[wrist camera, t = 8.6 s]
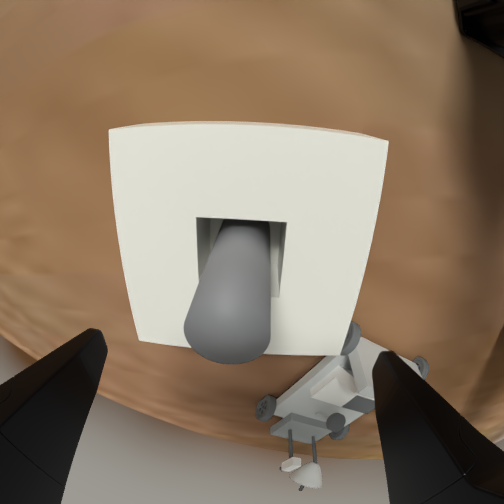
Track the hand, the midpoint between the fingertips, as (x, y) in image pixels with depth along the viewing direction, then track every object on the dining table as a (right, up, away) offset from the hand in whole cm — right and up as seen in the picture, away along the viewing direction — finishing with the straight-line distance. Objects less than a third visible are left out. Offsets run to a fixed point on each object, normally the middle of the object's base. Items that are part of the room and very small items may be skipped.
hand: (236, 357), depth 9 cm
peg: (0, +5, +11) cm, 12 cm away
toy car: (+9, -12, +20) cm, 25 cm away
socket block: (0, +5, +12) cm, 13 cm away
